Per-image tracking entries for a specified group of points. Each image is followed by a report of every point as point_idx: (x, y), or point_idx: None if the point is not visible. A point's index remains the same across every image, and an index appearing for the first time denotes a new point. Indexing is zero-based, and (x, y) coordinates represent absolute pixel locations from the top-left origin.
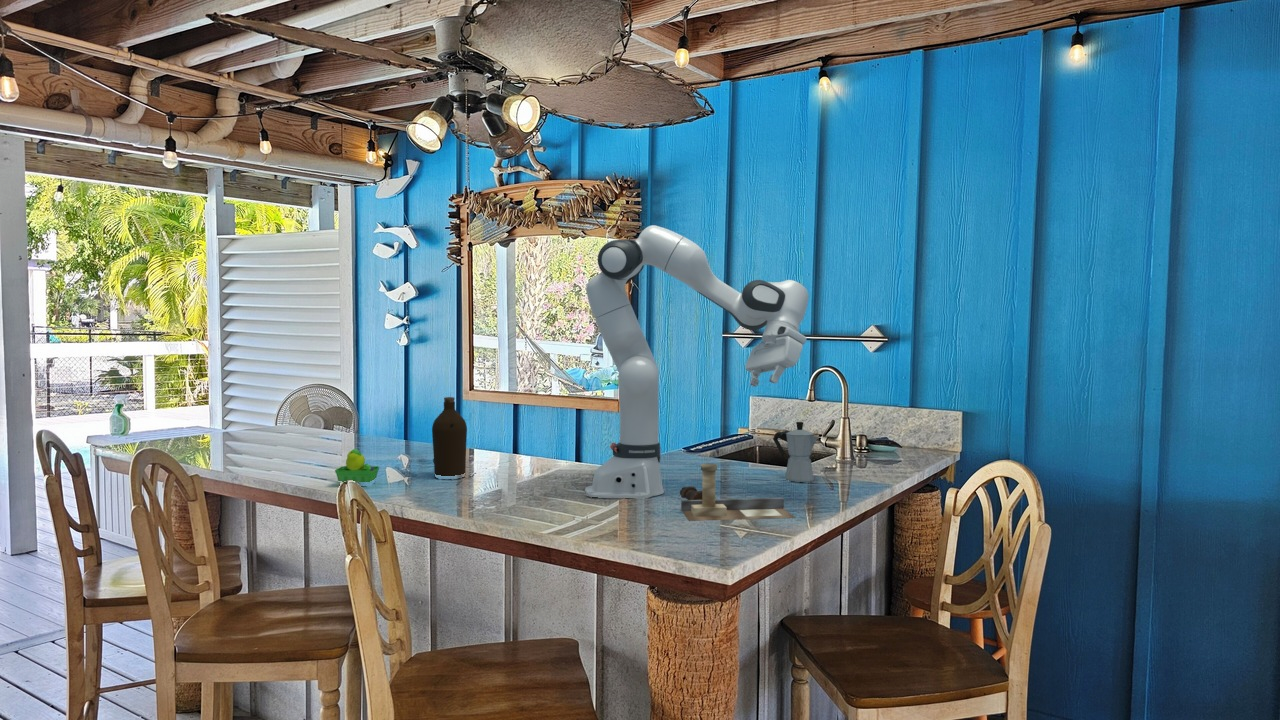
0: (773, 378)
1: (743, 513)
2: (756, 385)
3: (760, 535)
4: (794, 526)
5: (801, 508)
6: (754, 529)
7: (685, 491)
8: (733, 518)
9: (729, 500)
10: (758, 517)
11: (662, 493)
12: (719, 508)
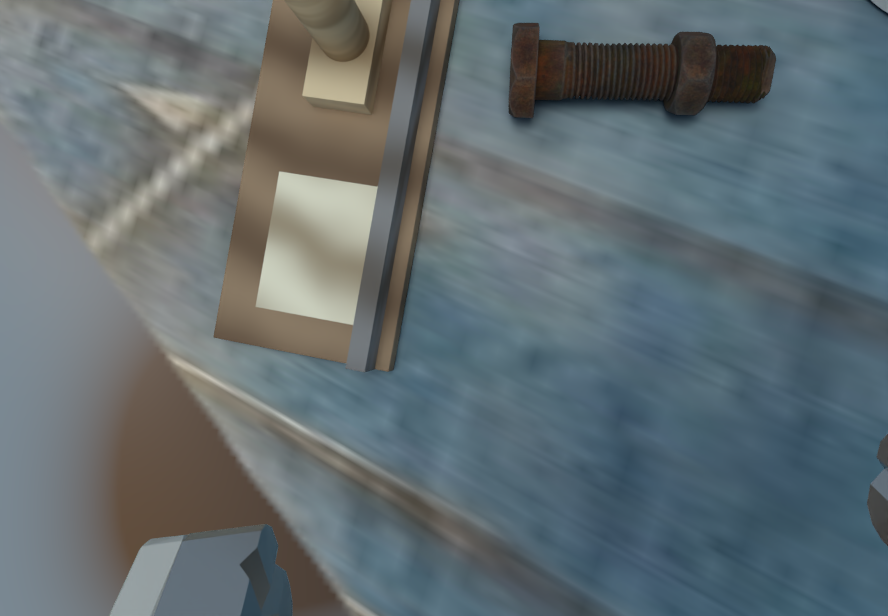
0: (133, 579)
1: (325, 180)
2: (878, 507)
3: (128, 156)
4: (196, 317)
5: (435, 480)
6: (200, 168)
7: (678, 38)
8: (267, 115)
9: (386, 139)
10: (254, 209)
11: (880, 7)
12: (308, 69)
